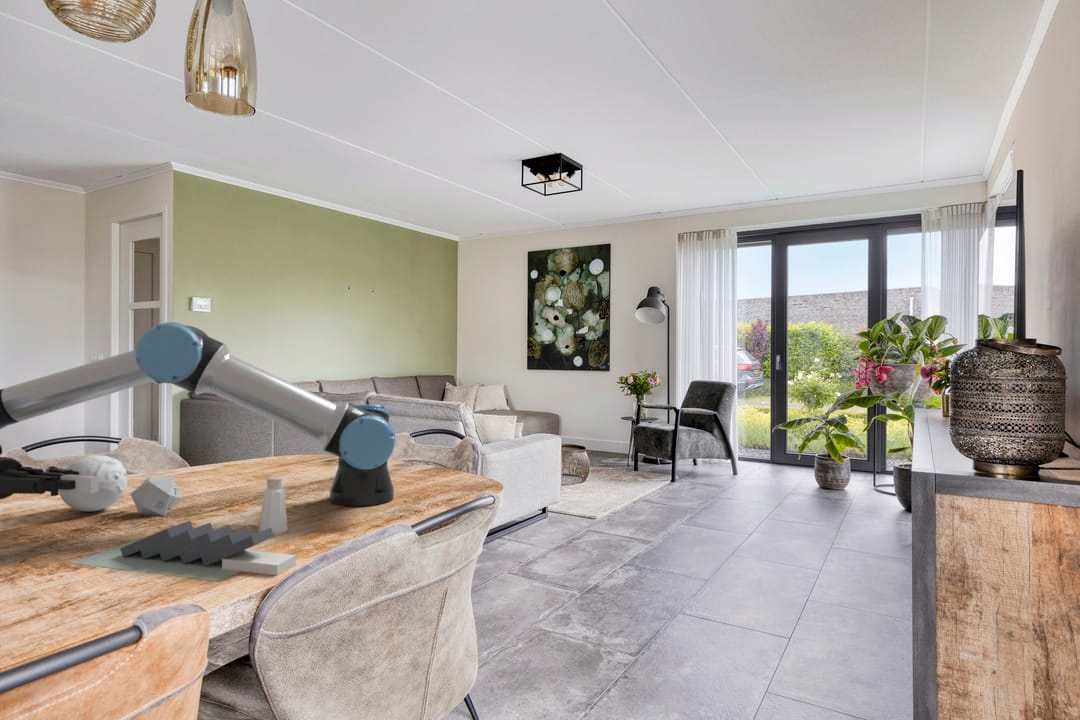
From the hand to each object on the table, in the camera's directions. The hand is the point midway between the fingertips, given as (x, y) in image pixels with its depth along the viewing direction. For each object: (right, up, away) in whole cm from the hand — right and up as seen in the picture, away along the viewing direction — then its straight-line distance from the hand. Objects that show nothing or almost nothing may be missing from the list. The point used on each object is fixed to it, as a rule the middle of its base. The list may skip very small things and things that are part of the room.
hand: (95, 484), depth 106 cm
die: (-5, -12, +25) cm, 28 cm away
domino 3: (+15, -11, -3) cm, 19 cm away
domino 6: (+27, -11, -5) cm, 29 cm away
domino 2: (+12, -11, -2) cm, 16 cm away
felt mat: (+16, -12, -3) cm, 21 cm away
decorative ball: (-19, -11, +26) cm, 34 cm away
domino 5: (+23, -11, -5) cm, 26 cm away
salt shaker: (+25, -13, +14) cm, 31 cm away
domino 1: (+8, -11, -1) cm, 13 cm away
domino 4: (+19, -11, -4) cm, 22 cm away
